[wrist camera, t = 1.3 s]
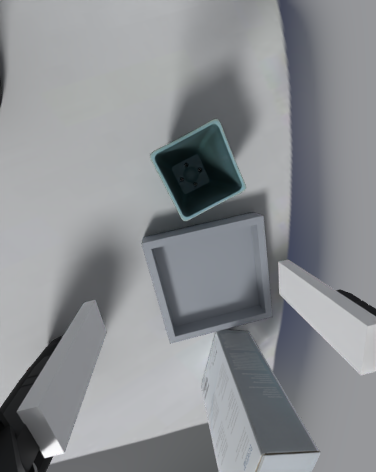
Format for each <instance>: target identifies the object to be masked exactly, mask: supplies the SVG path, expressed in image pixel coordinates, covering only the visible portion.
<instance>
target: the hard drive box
mask: <svg viewBox="0 0 376 472" xmlns="http://www.w3.org/2000/svg"><path fill="white" fill-rule="evenodd" d="M201 388H202V393H203V398H204V403H205V408H206V413H207V418H208V422H209V427H210V432H211V437H212V442H213V446H214V451H215V456H216V461H217V466H218V471H219V472H312V470H313V467H314V465H315V463H316V461H317V459H318V457H319V455H320V450H319V449H318V448H317V446H316V444H315V443H314V441H313V439H312V438H311V436H310V434H309V432H308V431H307V429H306V427H305V426H304V424H303V422H302V421H301V419H300V417H299V415H298V414H297V412H296V411H295V409H294V407H293V405H292V404H291V402H290V400H289V399H288V397H287V395H286V393H285V392H284V390H283V388H282V387H281V385H280V383H279V382H278V380H277V378H276V376H275V375H274V373H273V371H272V370H271V368H270V366H269V365H268V363H267V361H266V359H265V358H264V356H263V354H262V353H261V351H260V349H259V347H258V346H257V344H256V342H255V341H254V339H253V337H252V336H251V334H250V332H249V331H237V330H220V331H216V333H215V337H214V340H213V344H212V348H211V352H210V356H209V359H208V363H207V367H206V370H205V374H204V378H203V382H202V386H201Z"/></svg>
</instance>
